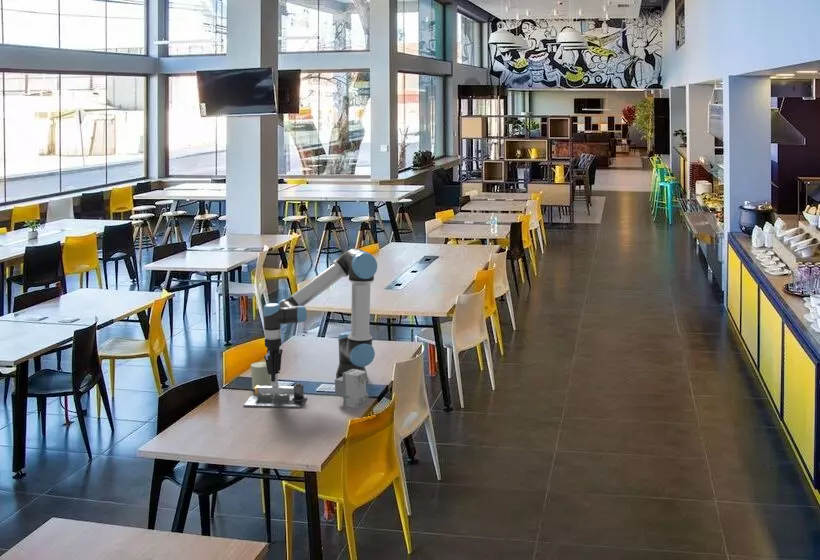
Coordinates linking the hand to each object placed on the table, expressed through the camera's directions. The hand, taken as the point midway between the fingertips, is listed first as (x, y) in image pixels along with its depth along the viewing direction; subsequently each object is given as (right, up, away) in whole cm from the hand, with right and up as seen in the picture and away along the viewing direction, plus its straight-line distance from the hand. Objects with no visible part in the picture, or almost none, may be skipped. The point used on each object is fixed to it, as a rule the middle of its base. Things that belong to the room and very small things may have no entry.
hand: (274, 387), depth 429 cm
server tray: (+1, -6, -7) cm, 9 cm away
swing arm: (+3, -4, -4) cm, 6 cm away
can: (-8, -2, +15) cm, 17 cm away
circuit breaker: (+35, -6, -9) cm, 37 cm away
